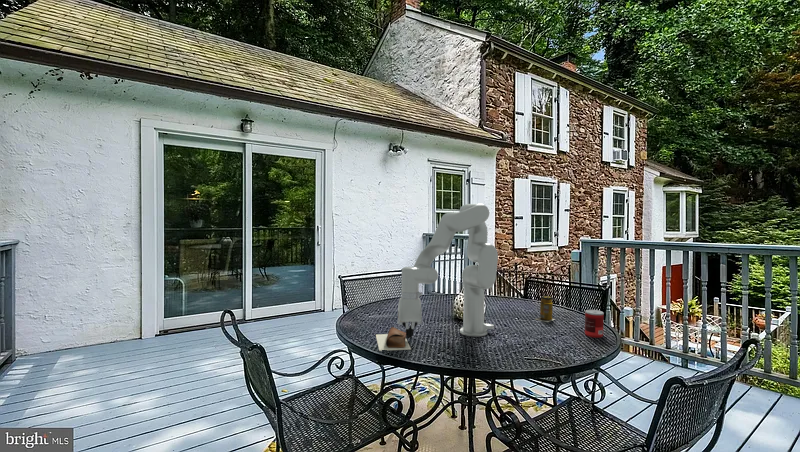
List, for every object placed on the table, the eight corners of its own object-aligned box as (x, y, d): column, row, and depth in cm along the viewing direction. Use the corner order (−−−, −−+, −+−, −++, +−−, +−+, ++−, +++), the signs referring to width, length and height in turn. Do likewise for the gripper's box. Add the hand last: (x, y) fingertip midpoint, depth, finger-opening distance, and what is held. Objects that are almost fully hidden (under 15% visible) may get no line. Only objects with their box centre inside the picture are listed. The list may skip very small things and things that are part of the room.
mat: (403, 333, 182) (403, 333, 182) (411, 349, 162) (411, 349, 162) (375, 334, 181) (375, 334, 181) (379, 350, 160) (379, 350, 160)
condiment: (555, 319, 208) (555, 296, 208) (548, 322, 203) (548, 299, 202) (542, 316, 214) (542, 294, 213) (534, 319, 208) (535, 297, 207)
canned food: (602, 334, 184) (603, 310, 183) (603, 339, 176) (604, 314, 176) (584, 331, 187) (585, 308, 186) (584, 336, 180) (585, 312, 179)
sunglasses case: (406, 346, 163) (398, 332, 163) (391, 355, 163) (383, 341, 163) (407, 333, 181) (400, 320, 180) (394, 341, 181) (386, 328, 181)
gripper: (425, 293, 176) (424, 334, 177) (391, 294, 174) (391, 335, 175) (428, 297, 169) (428, 339, 169) (394, 297, 167) (393, 340, 167)
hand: (409, 337), depth 172 cm, fingers closed
